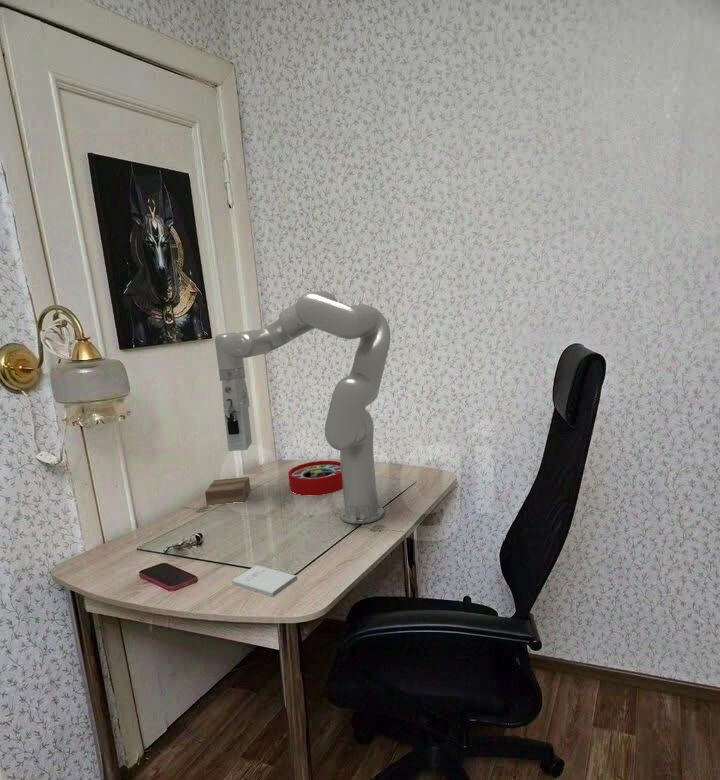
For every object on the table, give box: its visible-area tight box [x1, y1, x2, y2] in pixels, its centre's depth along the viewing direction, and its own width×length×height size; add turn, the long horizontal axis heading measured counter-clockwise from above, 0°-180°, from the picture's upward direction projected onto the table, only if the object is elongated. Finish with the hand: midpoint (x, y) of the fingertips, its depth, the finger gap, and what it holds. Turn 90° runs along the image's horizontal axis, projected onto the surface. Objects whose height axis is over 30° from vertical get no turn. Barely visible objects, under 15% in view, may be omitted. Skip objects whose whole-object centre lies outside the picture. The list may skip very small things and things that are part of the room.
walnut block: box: [204, 476, 251, 507], centre depth 180 cm, size 12×12×5 cm
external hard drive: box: [231, 564, 298, 598], centre depth 122 cm, size 2×8×12 cm
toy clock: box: [287, 460, 343, 496], centre depth 184 cm, size 20×6×20 cm
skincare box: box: [223, 402, 253, 452], centre depth 164 cm, size 8×6×15 cm
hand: (239, 430), depth 165 cm, fingers closed on skincare box, 8 cm apart
